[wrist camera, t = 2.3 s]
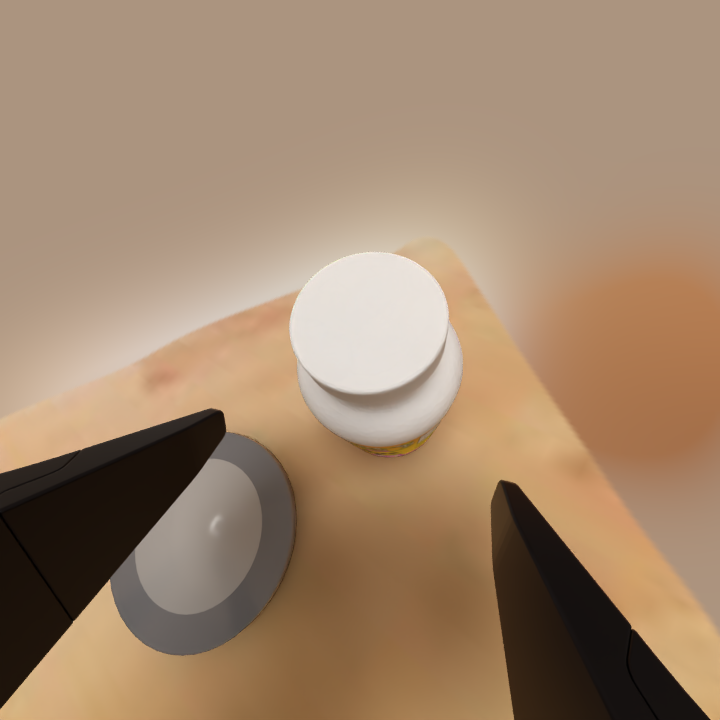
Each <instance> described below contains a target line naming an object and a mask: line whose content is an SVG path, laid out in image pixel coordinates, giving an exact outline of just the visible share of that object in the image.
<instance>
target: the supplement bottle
mask: <svg viewBox="0 0 720 720" xmlns="http://www.w3.org/2000/svg"><path fill="white" fill-rule="evenodd" d="M289 332H290V339H291V344H292V348H293V351H294V354H295V355H296V357H297V359H298V360H297V375H298V383H299V387H300V390H301V393H302V396H303V398H304V400H305V402H306V404H307V406H308V408H309V409H310V411H311V412H312V413H313V415H314V416H315V417H316V418H317V419H318V420H319V421H320V422H321V423H322V424H323V425H324V426H325V427H326V428H328V429H329V430H330V431H331V432H333V433H334V434H336V435H338V436H339V437H341V438H343V439H345V440H346V441H348V442H350V443H351V444H353V445H355V446H356V447H358V448H360V449H362V450H364V451H366V452H368V453H370V454H373V455H377V456H382V457H397V456H402V455H405V454H408V453H410V452H412V451H414V450H416V449H417V448H419V447H420V446H422V445H423V444H424V443H425V442H426V441H427V440H428V439H429V437H430V436H431V435H432V433H433V432H434V431H435V429H436V428H437V426H438V425H439V423H440V422H441V420H442V419H443V417H444V416H445V415H446V413H447V412H448V410H449V409H450V407H451V405H452V403H453V401H454V399H455V397H456V395H457V393H458V390H459V387H460V384H461V380H462V373H463V356H462V350H461V346H460V342H459V339H458V337H457V334H456V332H455V330H454V328H453V326H452V325H451V323H450V322H449V310H448V305H447V301H446V298H445V295H444V293H443V291H442V289H441V287H440V285H439V284H438V282H437V281H436V280H435V278H434V277H433V276H432V275H431V274H430V273H429V272H428V271H427V270H426V269H425V268H423V267H422V266H420V265H419V264H417V263H416V262H414V261H412V260H410V259H408V258H405V257H403V256H399V255H396V254H391V253H385V252H365V253H358V254H353V255H350V256H347V257H344V258H340V259H338V260H336V261H334V262H332V263H330V264H328V265H327V266H325V267H324V268H322V269H321V270H320V271H318V272H317V273H316V274H315V275H314V276H313V277H312V278H311V279H310V280H309V281H308V282H307V283H306V285H305V286H304V287H303V289H302V290H301V292H300V293H299V295H298V297H297V299H296V302H295V304H294V306H293V309H292V313H291V317H290V326H289Z"/></svg>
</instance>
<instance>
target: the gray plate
mask: <svg viewBox="0 0 720 720" xmlns="http://www.w3.org/2000/svg"><path fill="white" fill-rule="evenodd" d="M295 534H296V506H295V500H294V494H293V491H292V487H291V484H290V481H289V479H288V476H287V474H286V472H285V470H284V469H283V467H282V465H281V463H280V462H279V461H278V460H277V458H276V457H275V456H274V455H273V454H272V453H271V452H270V451H269V450H268V449H267V448H266V447H265V446H263V445H262V444H260V443H259V442H257V441H255V440H253V439H251V438H248V437H245V436H242V435H238V434H234V433H228V432H226V434H225V436H224V438H223V439H222V441H221V442H220V444H219V445H218V446H217V448H216V449H215V451H214V452H213V454H212V455H211V456H210V458H209V459H208V461H207V462H206V464H205V465H204V466H203V468H202V469H201V471H200V472H199V473H198V475H197V476H196V477H195V478H194V480H193V481H192V482H191V483H190V484H189V486H188V487H187V488H186V489H185V490H184V491H183V493H182V494H181V495H180V496H179V497H178V499H177V500H176V501H175V502H174V503H173V504H172V506H171V507H170V508H169V509H168V510H167V512H166V513H165V514H164V515H163V516H162V518H161V519H160V520H159V521H158V522H157V523H156V525H155V526H154V527H153V528H152V529H151V531H150V532H149V533H148V534H147V535H146V537H145V538H144V539H143V540H142V541H141V542H140V544H139V545H138V546H137V547H136V548H135V550H134V551H133V552H132V553H131V554H130V555H129V557H128V558H127V559H126V560H125V561H124V563H123V564H122V565H121V566H120V567H119V569H118V570H117V571H116V572H115V573H114V574H113V576H112V577H111V578H110V582H111V589H112V593H113V597H114V601H115V604H116V606H117V609H118V611H119V614H120V616H121V618H122V619H123V621H124V622H125V624H126V626H127V627H128V628H129V630H130V631H131V632H132V633H133V634H134V635H135V637H137V638H138V639H139V640H140V641H142V642H143V643H144V644H145V645H147V646H149V647H151V648H153V649H155V650H156V651H160V652H163V653H166V654H171V655H181V656H183V655H194V654H198V653H202V652H206V651H209V650H211V649H214V648H216V647H218V646H220V645H222V644H224V643H225V642H227V641H229V640H230V639H232V638H233V637H235V636H236V635H237V634H238V633H239V632H241V631H242V630H243V629H244V628H245V627H246V626H248V625H249V624H250V623H251V622H252V621H253V620H254V619H255V618H256V617H257V616H258V615H259V614H260V612H261V611H262V610H263V609H264V608H265V607H266V606H267V604H268V603H269V601H270V600H271V599H272V597H273V596H274V594H275V593H276V591H277V589H278V587H279V585H280V584H281V582H282V580H283V577H284V575H285V573H286V570H287V568H288V565H289V562H290V558H291V555H292V552H293V547H294V541H295Z"/></svg>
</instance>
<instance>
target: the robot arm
mask: <svg viewBox="0 0 720 720" xmlns="http://www.w3.org/2000/svg"><path fill="white" fill-rule="evenodd" d="M225 434H226V424H225V418H224V413H223V412H222V411H221V410H217V409H212V408H211V409H207V410H204V411H201V412H197V413H194V414H191V415H188V416H185V417H182V418H179V419H175V420H172V421H169V422H166V423H163V424H160V425H157V426H154V427H150V428H147V429H144V430H141V431H138V432H135V433H132V434H128V435H125V436H122V437H119V438H116V439H113V440H110V441H106V442H103V443H100V444H97V445H94V446H91V447H88V448H85V449H83V450H78V451H75V452H72V453H69V454H66V455H62V456H59V457H56V458H53V459H49V460H46V461H43V462H40V463H36V464H33V465H29V466H26V467H22V468H19V469H15V470H12V471H8V472H4V473H1V474H0V709H1V708H2V706H3V705H4V704H5V703H6V702H7V701H8V699H9V698H10V697H11V696H12V695H13V693H14V692H15V691H16V690H17V689H18V687H19V686H20V685H21V684H22V683H23V682H24V680H25V679H26V678H27V677H28V676H29V674H30V673H31V672H32V671H33V670H34V668H35V667H36V666H37V665H38V664H39V663H40V661H41V660H42V659H43V658H44V657H45V655H46V654H47V653H48V652H49V651H50V649H51V648H52V647H53V646H54V645H55V644H56V642H57V641H58V640H59V639H60V638H61V636H62V635H63V634H64V633H65V632H66V631H67V629H68V628H69V627H70V626H71V625H72V623H73V621H74V620H76V618H77V617H78V616H79V615H80V614H81V612H82V611H83V610H84V609H85V608H86V606H87V605H88V604H89V603H90V602H91V601H92V599H93V598H94V597H95V596H96V595H97V593H98V592H99V591H100V590H101V589H102V588H103V586H104V585H105V584H106V583H107V582H108V580H109V579H110V578H111V577H112V576H113V574H114V573H115V572H116V571H117V570H118V569H119V567H120V566H121V565H122V564H123V563H124V561H125V560H126V559H127V558H128V557H129V555H130V554H131V553H132V552H133V551H134V550H135V548H136V547H137V546H138V545H139V544H140V542H141V541H142V540H143V539H144V538H145V537H146V535H147V534H148V533H149V532H150V531H151V529H152V528H153V527H154V526H155V525H156V523H157V522H158V521H159V520H160V519H161V518H162V516H163V515H164V514H165V513H166V512H167V510H168V509H169V508H170V507H171V506H172V504H173V503H174V502H175V501H176V500H177V499H178V497H179V496H180V495H181V494H182V493H183V491H184V490H185V489H186V488H187V487H188V486H189V484H190V483H191V482H192V481H193V480H194V478H195V477H196V476H197V475H198V473H199V472H200V471H201V469H202V468H203V466H204V465H205V464H206V462H207V461H208V459H209V458H210V456H211V455H212V454H213V452H214V451H215V449H216V448H217V446H218V445H219V444H220V442H221V441H222V439H223V438H224V436H225ZM491 532H492V561H493V572H494V580H495V587H496V594H497V601H498V608H499V615H500V622H501V630H502V637H503V644H504V651H505V658H506V665H507V672H508V679H509V686H510V693H511V700H512V707H513V714H514V720H710V719H709V717H708V716H707V715H706V714H705V713H704V712H703V711H702V709H701V708H700V707H699V706H698V705H697V704H696V703H695V701H694V700H693V699H692V698H691V697H690V696H689V695H688V693H687V692H686V691H685V690H684V689H683V688H682V686H681V685H680V684H679V683H678V682H677V680H676V679H675V678H674V677H673V676H672V674H671V673H670V672H669V671H668V670H667V668H666V667H665V666H664V665H663V664H662V662H661V661H660V660H659V659H658V658H657V656H656V655H655V654H654V653H653V652H652V650H651V649H650V648H649V647H648V645H647V644H646V643H645V642H644V640H643V639H642V638H641V637H640V635H639V634H638V633H637V632H636V631H635V630H634V629H631V625H630V623H629V622H628V621H627V620H626V618H625V617H624V616H623V615H622V613H621V612H620V611H619V610H618V608H617V607H616V606H615V605H614V604H613V602H612V601H611V600H610V599H609V597H608V596H607V595H606V594H605V592H604V591H603V590H602V589H601V587H600V586H599V585H598V584H597V583H596V581H595V580H594V579H593V578H592V576H591V575H590V574H589V573H588V571H587V570H586V569H585V568H584V566H583V565H582V564H581V563H580V562H579V560H578V559H577V558H576V557H575V555H574V554H573V553H572V552H571V550H570V549H569V548H568V547H567V545H566V544H565V543H564V542H563V541H562V539H561V538H560V537H559V536H558V534H557V533H556V532H555V531H554V529H553V528H552V527H551V526H550V524H549V523H548V522H547V521H546V520H545V518H544V517H543V516H542V515H541V513H540V512H539V511H538V510H537V508H536V507H535V506H534V505H533V503H532V502H531V501H530V500H529V499H528V497H527V496H526V495H525V494H524V492H523V491H522V490H521V489H520V487H519V486H518V485H517V484H515V483H513V482H508V481H504V480H500V481H499V482H498V485H497V487H496V490H495V493H494V496H493V498H492V502H491Z"/></svg>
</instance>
